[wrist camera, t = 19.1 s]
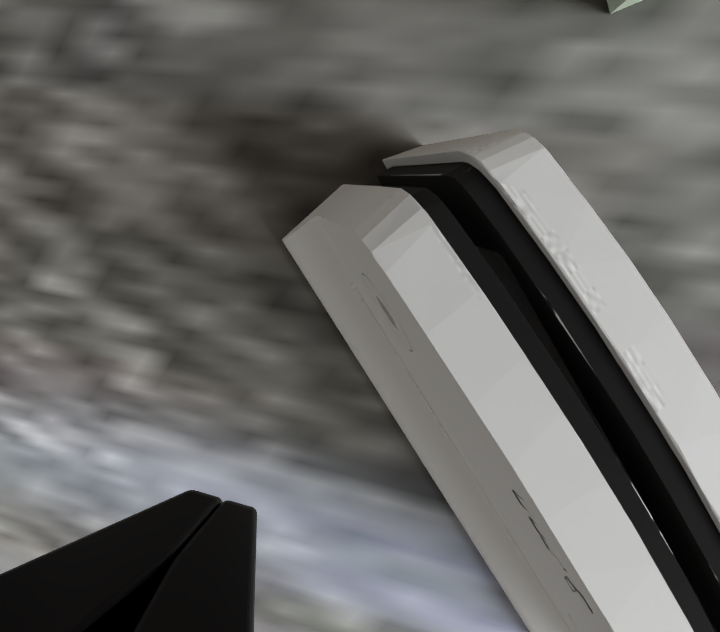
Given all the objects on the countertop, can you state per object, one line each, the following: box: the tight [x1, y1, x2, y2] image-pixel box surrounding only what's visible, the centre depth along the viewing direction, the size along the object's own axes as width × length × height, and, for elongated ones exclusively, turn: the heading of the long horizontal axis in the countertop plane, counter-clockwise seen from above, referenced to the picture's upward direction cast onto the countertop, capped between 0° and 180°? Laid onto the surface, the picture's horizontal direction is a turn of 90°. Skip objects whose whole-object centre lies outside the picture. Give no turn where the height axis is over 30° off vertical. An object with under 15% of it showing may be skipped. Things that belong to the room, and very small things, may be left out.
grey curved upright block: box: [282, 130, 720, 632], centre depth 15 cm, size 17×5×10 cm, turn 32°
